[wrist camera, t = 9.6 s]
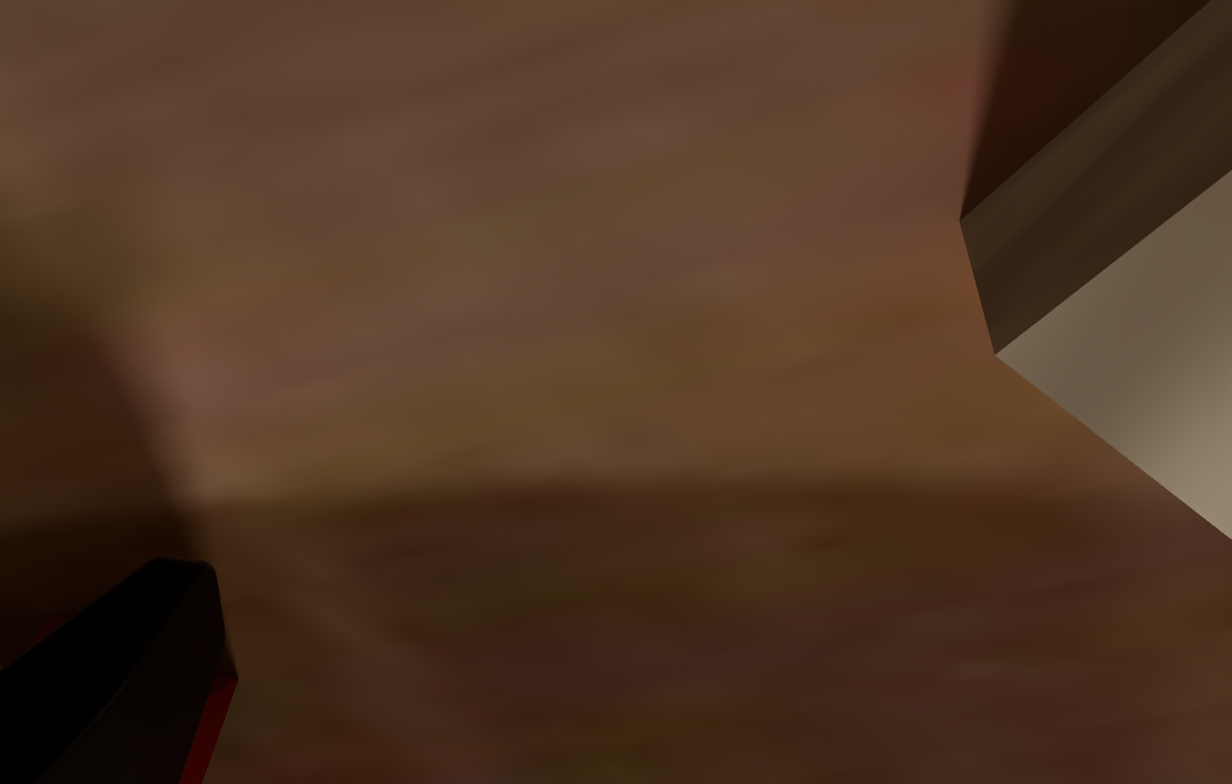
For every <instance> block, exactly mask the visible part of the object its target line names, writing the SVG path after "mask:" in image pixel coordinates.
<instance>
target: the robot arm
mask: <svg viewBox="0 0 1232 784" xmlns="http://www.w3.org/2000/svg"><path fill="white" fill-rule="evenodd" d="M224 642H225V627H224V620H223V614H222V607H221V601H220V595H219V588H218V582H217V576H216V572H215V569H214V568H213V566H212V565H211V564H210V563H209V562H206V561H204V560H197V559H191V558H185V557H179V556H173V555H160V556H157V557H154V558H152V559H150V560H149V561H147V562H146V563H144V564H143V565H142V566H140V567H139V568H137V569H136V570H135V571H133V572H132V573H131V574H129V575H128V576H127V577H125V578H124V579H123V580H121V581H120V582H118V583H117V584H116V585H114V586H113V587H112V588H110V589H109V590H108V591H106V592H105V593H103V594H102V595H101V596H99V597H98V598H97V599H95V600H94V601H93V602H91V603H90V604H89V605H87V606H86V607H84V608H83V609H82V610H80V611H79V612H78V613H76V614H75V615H74V616H72V617H71V618H70V619H68V620H67V621H65V622H64V623H63V624H61V625H60V626H59V627H57V628H56V629H55V630H53V631H52V632H51V633H49V634H48V635H46V636H45V637H44V638H42V639H41V640H40V641H38V642H37V643H36V644H34V645H33V646H32V647H30V648H29V649H27V650H26V651H25V652H23V653H22V654H21V655H19V656H18V657H17V658H15V659H14V660H12V661H11V662H10V663H8V664H7V665H6V666H4V667H3V668H2V669H0V784H179V782H180V779H181V776H182V773H183V771H184V768H185V765H186V762H187V759H188V756H189V753H190V750H191V747H192V744H193V741H194V738H195V735H196V732H197V729H198V726H199V723H200V720H201V717H202V715H203V712H204V709H205V706H206V703H207V700H208V697H209V694H210V691H211V688H212V685H213V682H214V679H215V676H216V673H217V670H218V667H219V664H220V661H221V658H222V654H223V649H224Z"/></svg>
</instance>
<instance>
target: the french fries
mask: <svg viewBox="0 0 1232 784" xmlns="http://www.w3.org/2000/svg"><path fill="white" fill-rule="evenodd" d="M68 619H70V618H67V617H64V616H62V615H59V614H55V615H54V616H53V617H52V619H51V620H50V621H49V622H48V624H47V625H46V626H45V627H44V628H43V630H42V631H41V632H40V633H39V635H38V636H37V637H36V638H35V639H34V641H33V642H32V643H31V644H30V646H29V647H28V648H27V649H29V648H30V647H32V646H33V645H34V644H36V643H37V642H38V641H40V640H41V639H42V638H44V637H45V636H46V635H48V634H49V633H51V632H52V631H53V630H55V629H56V628H57V627H59V626H60V625H61V624H63V623H64V622H65V621H67V620H68ZM27 649H26V650H27ZM26 650H25V651H26ZM237 682H238V679H235V678H233V677H230V676H227V675H224V674H222V673H219V672H217V673H216V676H215V679H214V682H213V685H212V688H211V691H210V694H209V697H208V700H207V703H206V706H205V709H204V712H203V715H202V717H201V720H200V723H199V726H198V729H197V732H196V735H195V738H194V741H193V744H192V747H191V750H190V753H189V756H188V759H187V762H186V765H185V768H184V771H183V773H182V776H181V779H180V782H179V784H202V782H203V779H204V776H205V773H206V770H207V767H208V765H209V762H210V759H211V756H212V753H213V750H214V748H215V745H216V742H217V739H218V736H219V733H220V730H221V728H222V725H223V722H224V719H225V716H226V713H227V711H228V708H229V705H230V702H231V699H232V696H233V693H234V691H235V688H236V685H237Z"/></svg>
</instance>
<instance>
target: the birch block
mask: <svg viewBox="0 0 1232 784" xmlns="http://www.w3.org/2000/svg"><path fill="white" fill-rule="evenodd" d="M960 225H961V229H962V233H963V237H964V240H965V244H966V248H967V252H968V255H969V259H970V263H971V267H972V270H973V274H974V278H975V282H976V285H977V289H978V293H979V297H980V301H981V304H982V308H983V312H984V316H985V319H986V323H987V327H988V331H989V334H990V338H991V342H992V346H993V349H994V353H995V355H996V356H997V357H998V358H999V359H1001V360H1002V361H1003V362H1005V363H1006V364H1007V365H1008V366H1010V367H1011V368H1012V369H1013V370H1015V371H1016V372H1017V373H1019V374H1020V375H1021V376H1022V377H1024V378H1025V379H1026V380H1028V381H1029V382H1030V383H1031V384H1033V385H1034V386H1035V387H1037V388H1038V389H1039V390H1040V391H1042V392H1043V393H1044V394H1046V395H1047V396H1048V397H1049V398H1051V399H1052V400H1053V401H1055V402H1056V403H1057V404H1058V405H1060V406H1061V407H1062V408H1064V409H1065V410H1066V411H1067V412H1069V413H1070V414H1071V415H1073V416H1074V417H1075V418H1076V419H1078V420H1079V421H1080V422H1082V423H1083V424H1084V425H1085V426H1087V427H1088V428H1089V429H1091V430H1092V431H1093V432H1094V433H1096V434H1097V435H1098V436H1099V437H1101V438H1102V439H1103V440H1105V441H1106V442H1107V443H1108V444H1110V445H1111V446H1112V447H1114V448H1115V449H1116V450H1117V451H1119V452H1120V453H1121V454H1123V455H1124V456H1125V457H1126V458H1128V459H1129V460H1130V461H1132V462H1133V463H1134V464H1135V465H1137V466H1138V467H1139V468H1141V469H1142V470H1143V471H1144V472H1146V473H1147V474H1148V475H1150V476H1151V477H1152V478H1153V479H1155V480H1156V481H1157V482H1159V483H1160V484H1161V485H1162V486H1164V487H1165V488H1166V489H1168V490H1169V491H1170V492H1171V493H1173V494H1174V495H1175V496H1177V497H1178V498H1179V499H1180V500H1182V501H1183V502H1184V503H1185V504H1187V505H1188V506H1189V507H1191V508H1192V509H1193V510H1194V511H1196V512H1197V513H1198V514H1200V515H1201V516H1202V517H1203V518H1205V519H1206V520H1207V521H1209V522H1210V523H1211V524H1212V525H1214V526H1215V527H1216V528H1218V529H1219V530H1220V531H1221V532H1223V533H1224V534H1225V535H1227V536H1228V537H1229V538H1230V539H1232V0H1210V1H1209V2H1208V3H1207V4H1206V5H1205V6H1204V7H1202V8H1201V9H1200V10H1199V11H1198V12H1197V13H1196V14H1194V15H1193V16H1192V17H1191V18H1190V19H1189V20H1188V21H1187V22H1185V23H1184V24H1183V25H1182V26H1181V27H1180V28H1179V29H1177V30H1176V31H1175V32H1174V33H1173V34H1172V35H1171V36H1169V37H1168V38H1167V39H1166V40H1165V41H1164V42H1163V43H1162V44H1160V45H1159V46H1158V47H1157V48H1156V49H1155V50H1154V51H1152V52H1151V53H1150V54H1149V55H1148V56H1147V57H1146V58H1144V59H1143V60H1142V61H1141V62H1140V63H1139V64H1138V65H1136V66H1135V67H1134V68H1133V69H1132V70H1131V71H1130V72H1129V73H1127V74H1126V75H1125V76H1124V77H1123V78H1122V79H1121V80H1119V81H1118V82H1117V83H1116V84H1115V85H1114V86H1113V87H1111V88H1110V89H1109V90H1108V91H1107V92H1106V93H1105V94H1104V95H1102V96H1101V97H1100V98H1099V99H1098V100H1097V101H1096V102H1094V103H1093V104H1092V105H1091V106H1090V107H1089V108H1088V109H1086V110H1085V111H1084V112H1083V113H1082V114H1081V115H1080V116H1078V117H1077V118H1076V119H1075V120H1074V121H1073V122H1072V123H1071V124H1069V125H1068V126H1067V127H1066V128H1065V129H1064V130H1063V131H1061V132H1060V133H1059V134H1058V135H1057V136H1056V137H1055V138H1053V139H1052V140H1051V141H1050V142H1049V143H1048V144H1047V145H1045V146H1044V147H1043V148H1042V149H1041V150H1040V151H1039V152H1038V153H1036V154H1035V155H1034V156H1033V157H1032V158H1031V159H1030V160H1028V161H1027V162H1026V163H1025V164H1024V165H1023V166H1022V167H1020V168H1019V169H1018V170H1017V171H1016V172H1015V173H1014V174H1013V175H1011V176H1010V177H1009V178H1008V179H1007V180H1006V181H1005V182H1003V183H1002V184H1001V185H1000V186H999V187H998V188H997V189H995V190H994V191H993V192H992V193H991V194H990V195H989V196H987V197H986V198H985V199H984V200H983V201H982V202H981V203H980V204H978V205H977V206H976V207H975V208H974V209H973V210H972V211H970V212H969V213H968V214H967V215H966V216H965V217H964V218H962V219H961V220H960Z"/></svg>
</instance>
